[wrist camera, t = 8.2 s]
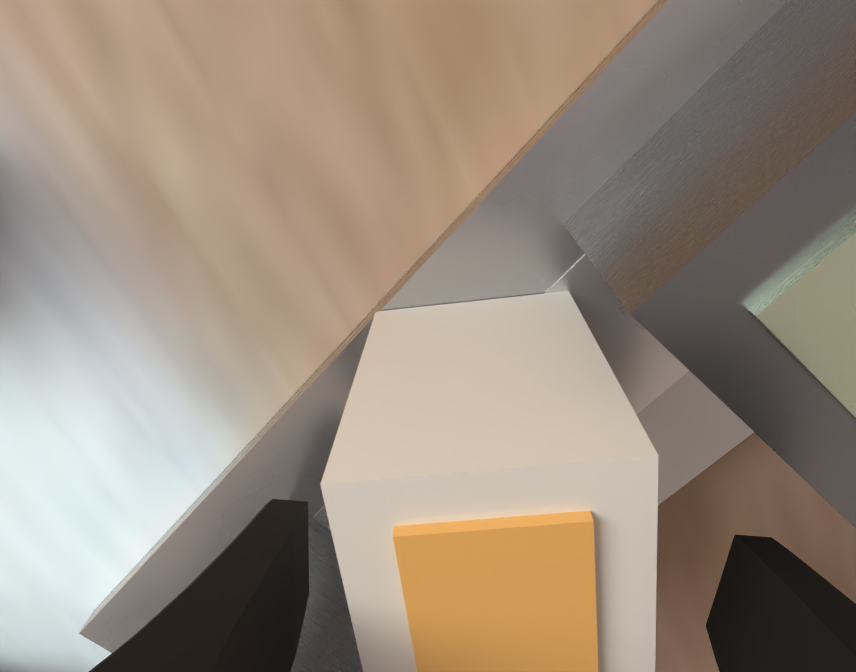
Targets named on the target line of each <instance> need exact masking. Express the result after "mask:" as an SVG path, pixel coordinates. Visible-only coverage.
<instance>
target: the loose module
mask: <svg viewBox="0 0 856 672" xmlns="http://www.w3.org/2000/svg"><path fill="white" fill-rule="evenodd" d="M320 486H321V490H322V494H323V499H324V503H325V507H326V512H327V516H328V521H329V525H330V529H331V534H332V538H333V542H334V547H335V551H336V556H337V560H338V564H339V569H340V573H341V577H342V582H343V586H344V590H345V595H346V599H347V604H348V608H349V612H350V617H351V621H352V625H353V630H354V634H355V638H356V643H357V647H358V652H359V656H360V660H361V665H362V669H363V672H655V645H656V582H657V519H658V454H657V452H656V450H655V448H654V446H653V445H652V443H651V441H650V439H649V437H648V435H647V434H646V432H645V430H644V428H643V426H642V424H641V423H640V421H639V419H638V417H637V415H636V413H635V412H634V410H633V408H632V406H631V404H630V402H629V401H628V399H627V397H626V395H625V393H624V391H623V390H622V388H621V386H620V384H619V382H618V380H617V379H616V377H615V375H614V373H613V371H612V369H611V368H610V366H609V364H608V362H607V360H606V358H605V357H604V355H603V353H602V351H601V349H600V347H599V346H598V344H597V342H596V340H595V338H594V336H593V334H592V333H591V331H590V329H589V327H588V325H587V323H586V322H585V320H584V318H583V316H582V314H581V312H580V311H579V309H578V307H577V305H576V303H575V301H574V300H573V298H572V296H571V294H570V292H569V291H564V292H555V293H545V294H536V295H527V296H517V297H508V298H499V299H489V300H480V301H471V302H461V303H452V304H443V305H433V306H424V307H415V308H405V309H396V310H387V311H377V312H375V315H374V318H373V321H372V324H371V328H370V331H369V334H368V337H367V340H366V343H365V346H364V349H363V353H362V356H361V359H360V362H359V365H358V368H357V371H356V374H355V378H354V381H353V384H352V387H351V390H350V393H349V396H348V399H347V403H346V406H345V409H344V412H343V415H342V418H341V421H340V424H339V428H338V431H337V434H336V437H335V440H334V443H333V446H332V449H331V453H330V456H329V459H328V462H327V465H326V468H325V471H324V474H323V478H322V481H321V484H320Z"/></svg>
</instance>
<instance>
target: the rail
mask: <svg viewBox="0 0 856 672" xmlns="http://www.w3.org/2000/svg"><path fill="white" fill-rule="evenodd" d="M564 291H569V292H570V294H571V296H572V298H573V300H574V301H575V303H576V305H577V307H578V309H579V311H580V312H581V314H582V316H583V318H584V320H585V322H586V323H587V325H588V327H589V329H590V331H591V333H592V334H593V336H594V338H595V340H596V342H597V344H598V346H599V347H600V349H601V351H602V353H603V355H604V357H605V358H606V360H607V362H608V364H609V366H610V368H611V369H612V371H613V373H614V375H615V377H616V379H617V380H618V382H619V384H620V386H621V388H622V390H623V391H624V393H625V395H626V397H627V399H628V401H629V402H630V404H631V406H632V408H633V410H634V412H635V413H636V415H637V417H638V419H639V421H640V423H641V424H642V426H643V428H644V430H645V432H646V434H647V435H648V437H649V439H650V441H651V443H652V445H653V446H654V448H655V450H656V452H657V454H658V505H659V504H661V503H662V502H663V501H665V500H666V499H667V498H669V497H670V496H671V495H673V494H674V493H675V492H676V491H678V490H679V489H680V488H682V487H683V486H684V485H686V484H687V483H688V482H690V481H691V480H692V479H693V478H695V477H696V476H697V475H699V474H700V473H701V472H703V471H704V470H705V469H707V468H708V467H709V466H710V465H712V464H713V463H714V462H716V461H717V460H718V459H720V458H721V457H722V456H724V455H725V454H726V453H727V452H729V451H730V450H731V449H733V448H734V447H735V446H737V445H738V444H739V443H741V442H742V441H743V440H745V439H746V438H747V437H748V436H750V435H751V434H752V433H754V432H755V433H756V434H757V435H758V436H759V437H760V438H761V439H762V440H763V441H764V442H765V443H766V444H767V445H769V446H770V447H771V448H772V449H773V450H774V451H775V452H776V453H777V454H778V455H779V456H780V457H781V458H782V459H783V460H784V461H785V462H786V463H788V464H789V465H790V466H791V467H792V468H793V469H794V470H795V471H796V472H797V473H798V474H799V475H800V476H801V477H802V478H803V479H804V480H805V481H807V482H808V483H809V484H810V485H811V486H812V487H813V488H814V489H815V490H816V491H817V492H818V493H819V494H820V495H821V496H822V497H823V498H824V499H826V500H827V501H828V502H829V503H830V504H831V505H832V506H833V507H834V508H835V509H836V510H837V511H838V512H839V513H840V514H841V515H842V516H843V517H844V518H846V519H847V520H848V521H849V522H850V523H851V524H852V525H853V526H854V527H855V528H856V0H659V1H658V2H657V4H656V5H655V6H654V7H653V8H652V9H651V10H650V11H649V12H648V13H647V14H646V15H645V17H644V18H643V19H642V20H641V21H640V22H639V23H638V24H637V25H636V26H635V27H634V28H633V29H632V31H631V32H630V33H629V34H628V35H627V36H626V37H625V38H624V39H623V40H622V41H621V42H620V44H619V45H618V46H617V47H616V48H615V49H614V50H613V51H612V52H611V53H610V54H609V55H608V56H607V58H606V59H605V60H604V61H603V62H602V63H601V64H600V65H599V66H598V67H597V68H596V69H595V71H594V72H593V73H592V74H591V75H590V76H589V77H588V78H587V79H586V80H585V81H584V82H583V83H582V85H581V86H580V87H579V88H578V89H577V90H576V91H575V92H574V93H573V94H572V95H571V96H570V98H569V99H568V100H567V101H566V102H565V103H564V104H563V105H562V106H561V107H560V108H559V109H558V110H557V112H556V113H555V114H554V115H553V116H552V117H551V118H550V119H549V120H548V121H547V122H546V123H545V125H544V126H543V127H542V128H541V129H540V130H539V131H538V132H537V133H536V134H535V135H534V136H533V137H532V139H531V140H530V141H529V142H528V143H527V144H526V145H525V146H524V147H523V148H522V149H521V150H520V152H519V153H518V154H517V155H516V156H515V157H514V158H513V159H512V160H511V161H510V162H509V163H508V164H507V166H506V167H505V168H504V169H503V170H502V171H501V172H500V173H499V174H498V175H497V176H496V177H495V179H494V180H493V181H492V182H491V183H490V184H489V185H488V186H487V187H486V188H485V189H484V190H483V191H482V193H481V194H480V195H479V196H478V197H477V198H476V199H475V200H474V201H473V202H472V203H471V204H470V206H469V207H468V208H467V209H466V210H465V211H464V212H463V213H462V214H461V215H460V216H459V217H458V218H457V220H456V221H455V222H454V223H453V224H452V225H451V226H450V227H449V228H448V229H447V230H446V231H445V233H444V234H443V235H442V236H441V237H440V238H439V239H438V240H437V241H436V242H435V243H434V244H433V245H432V247H431V248H430V249H429V250H428V251H427V252H426V253H425V254H424V255H423V256H422V257H421V258H420V260H419V261H418V262H417V263H416V264H415V265H414V266H413V267H412V268H411V269H410V270H409V271H408V272H407V274H406V275H405V276H404V277H403V278H402V279H401V280H400V281H399V282H398V283H397V284H396V285H395V287H394V288H393V289H392V290H391V291H390V292H389V293H388V294H387V295H386V296H385V297H384V298H383V299H382V301H381V302H380V303H379V304H378V305H377V306H376V307H375V308H374V309H373V310H372V311H371V312H370V314H369V315H368V316H367V317H366V318H365V319H364V320H363V321H362V322H361V323H360V324H359V325H358V326H357V328H356V329H355V330H354V331H353V332H352V333H351V334H350V335H349V336H348V337H347V338H346V339H345V341H344V342H343V343H342V344H341V345H340V346H339V347H338V348H337V349H336V350H335V351H334V352H333V353H332V355H331V356H330V357H329V358H328V359H327V360H326V361H325V362H324V363H323V364H322V365H321V366H320V368H319V369H318V370H317V371H316V372H315V373H314V374H313V375H312V376H311V377H310V378H309V379H308V380H307V382H306V383H305V384H304V385H303V386H302V387H301V388H300V389H299V390H298V391H297V392H296V393H295V395H294V396H293V397H292V398H291V399H290V400H289V401H288V402H287V403H286V404H285V405H284V406H283V407H282V409H281V410H280V411H279V412H278V413H277V414H276V415H275V416H274V417H273V418H272V419H271V420H270V422H269V423H268V424H267V425H266V426H265V427H264V428H263V429H262V430H261V431H260V432H259V433H258V434H257V436H256V437H255V438H254V439H253V440H252V441H251V442H250V443H249V444H248V445H247V446H246V447H245V449H244V450H243V451H242V452H241V453H240V454H239V455H238V456H237V457H236V458H235V459H234V460H233V461H232V463H231V464H230V465H229V466H228V467H227V468H226V469H225V470H224V471H223V472H222V473H221V474H220V476H219V477H218V478H217V479H216V480H215V481H214V482H213V483H212V484H211V485H210V486H209V487H208V488H207V490H206V491H205V492H204V493H203V494H202V495H201V496H200V497H199V498H198V499H197V500H196V501H195V503H194V504H193V505H192V506H191V507H190V508H189V509H188V510H187V511H186V512H185V513H184V514H183V515H182V517H181V518H180V519H179V520H178V521H177V522H176V523H175V524H174V525H173V526H172V527H171V528H170V530H169V531H168V532H167V533H166V534H165V535H164V536H163V537H162V538H161V539H160V540H159V541H158V542H157V544H156V545H155V546H154V547H153V548H152V549H151V550H150V551H149V552H148V553H147V554H146V555H145V557H144V558H143V559H142V560H141V561H140V562H139V563H138V564H137V565H136V566H135V567H134V568H133V569H132V571H131V572H130V573H129V574H128V575H127V576H126V577H125V578H124V579H123V580H122V581H121V582H120V584H119V585H118V586H117V587H116V588H115V589H114V590H113V591H112V592H111V593H110V594H109V595H108V596H107V598H106V599H105V600H104V601H103V602H102V603H101V604H100V605H99V606H98V607H97V608H96V609H95V611H94V612H93V614H92V615H91V617H90V618H89V620H88V621H87V623H86V624H85V626H84V627H83V629H82V630H81V632H80V633H79V634H81V635H83V636H84V637H86V638H88V639H89V640H91V641H93V642H94V643H96V644H98V645H100V646H101V647H103V648H105V649H106V650H108V651H110V652H111V653H113V652H114V651H115V650H117V649H118V648H119V647H120V646H121V645H123V644H124V643H125V642H126V641H127V640H129V639H130V638H131V637H132V636H133V635H135V634H136V633H137V632H138V631H139V630H140V629H141V628H143V627H144V626H145V625H146V624H147V623H148V622H149V621H150V620H151V619H153V618H154V617H155V616H156V615H157V614H158V613H159V612H160V611H161V610H162V609H164V608H165V607H166V606H167V605H168V604H169V603H170V602H171V601H172V600H173V599H175V598H176V597H177V596H178V595H179V594H180V593H181V592H182V591H183V590H184V589H185V588H186V587H187V586H188V585H189V584H190V583H191V582H192V581H193V580H194V579H195V578H196V577H197V576H198V575H199V574H200V573H201V572H202V571H203V570H204V569H205V568H206V567H207V566H208V565H209V564H210V563H211V562H212V561H213V560H214V559H215V558H216V557H217V556H218V555H219V554H220V553H221V552H222V551H223V550H224V549H225V548H226V547H227V546H228V545H229V544H230V543H231V542H232V541H233V540H234V539H235V538H236V536H237V535H238V534H239V533H240V532H241V531H242V530H243V529H244V528H245V527H246V526H247V525H248V523H249V522H250V521H251V520H252V519H253V518H254V517H255V516H256V515H257V513H258V512H259V511H260V510H261V509H262V508H263V507H264V506H265V504H267V503H268V502H269V501H270V500H272V499H281V500H294V501H307V502H308V537H309V597H308V602H307V607H306V612H305V616H304V621H303V626H302V630H301V635H300V639H299V644H298V648H297V652H296V656H295V659H294V662H293V665H292V668H291V671H290V672H363V669H362V665H361V660H360V656H359V652H358V647H357V643H356V638H355V634H354V630H353V625H352V621H351V617H350V612H349V608H348V604H347V599H346V595H345V590H344V586H343V582H342V577H341V573H340V569H339V564H338V560H337V556H336V551H335V547H334V542H333V538H332V534H331V529H330V525H329V521H328V516H327V512H326V507H325V503H324V499H323V494H322V490H321V486H320V484H321V481H322V478H323V474H324V471H325V468H326V465H327V462H328V459H329V456H330V453H331V449H332V446H333V443H334V440H335V437H336V434H337V431H338V428H339V424H340V421H341V418H342V415H343V412H344V409H345V406H346V403H347V399H348V396H349V393H350V390H351V387H352V384H353V381H354V378H355V374H356V371H357V368H358V365H359V362H360V359H361V356H362V353H363V349H364V346H365V343H366V340H367V337H368V334H369V331H370V328H371V324H372V321H373V318H374V315H375V312H377V311H387V310H396V309H405V308H415V307H424V306H433V305H443V304H452V303H461V302H471V301H480V300H489V299H499V298H508V297H517V296H527V295H536V294H545V293H555V292H564Z"/></svg>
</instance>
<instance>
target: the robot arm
mask: <svg viewBox="0 0 856 672" xmlns="http://www.w3.org/2000/svg"><path fill="white" fill-rule="evenodd" d="M308 597H309V537H308V502H307V501H294V500H281V499H272V500H270V501H269V502H268V503H267V504H265V506H264V507H263V508H262V509H261V510H260V511H259V512H258V513H257V515H256V516H255V517H254V518H253V519H252V520H251V521H250V522H249V523H248V525H247V526H246V527H245V528H244V529H243V530H242V531H241V532H240V533H239V534H238V535H237V536H236V538H235V539H234V540H233V541H232V542H231V543H230V544H229V545H228V546H227V547H226V548H225V549H224V550H223V551H222V552H221V553H220V554H219V555H218V556H217V557H216V558H215V559H214V560H213V561H212V562H211V563H210V564H209V565H208V566H207V567H206V568H205V569H204V570H203V571H202V572H201V573H200V574H199V575H198V576H197V577H196V578H195V579H194V580H193V581H192V582H191V583H190V584H189V585H188V586H187V587H186V588H185V589H184V590H183V591H182V592H181V593H180V594H179V595H178V596H177V597H176V598H175V599H173V600H172V601H171V602H170V603H169V604H168V605H167V606H166V607H165V608H164V609H162V610H161V611H160V612H159V613H158V614H157V615H156V616H155V617H154V618H153V619H151V620H150V621H149V622H148V623H147V624H146V625H145V626H144V627H143V628H141V629H140V630H139V631H138V632H137V633H136V634H135V635H133V636H132V637H131V638H130V639H129V640H127V641H126V642H125V643H124V644H123V645H121V646H120V647H119V648H118V649H117V650H115V651H114V652H113V653H112V654H111V655H109V656H108V657H107V658H106V659H104V660H103V661H102V662H100V663H99V664H98V665H97V666H95V667H94V668H93V669H92V670H90V671H89V672H290V671H291V668H292V665H293V662H294V659H295V656H296V652H297V648H298V644H299V639H300V635H301V630H302V626H303V621H304V616H305V612H306V607H307V602H308ZM706 627H707V631H708V634H709V638H710V641H711V645H712V648H713V652H714V655H715V659H716V662H717V665H718V668H719V671H720V672H856V604H855V603H854V602H852V601H851V600H850V599H849V598H848V597H846V596H845V595H844V594H843V593H841V592H840V591H839V590H838V589H836V588H835V587H834V586H833V585H832V584H830V583H829V582H828V581H827V580H825V579H824V578H823V577H822V576H820V575H819V574H818V573H817V572H815V571H814V570H813V569H812V568H811V567H809V566H808V565H807V564H806V563H804V562H803V561H802V560H801V559H799V558H798V557H797V556H795V555H794V554H793V553H792V552H790V551H789V550H788V549H786V548H785V547H784V546H782V545H781V544H780V543H778V542H777V541H776V540H774V539H773V538H770V537H758V536H745V535H735V536H734V539H733V542H732V545H731V548H730V552H729V555H728V558H727V561H726V564H725V567H724V570H723V574H722V577H721V580H720V583H719V586H718V589H717V592H716V596H715V599H714V602H713V605H712V608H711V611H710V614H709V617H708V621H707V624H706Z"/></svg>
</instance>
